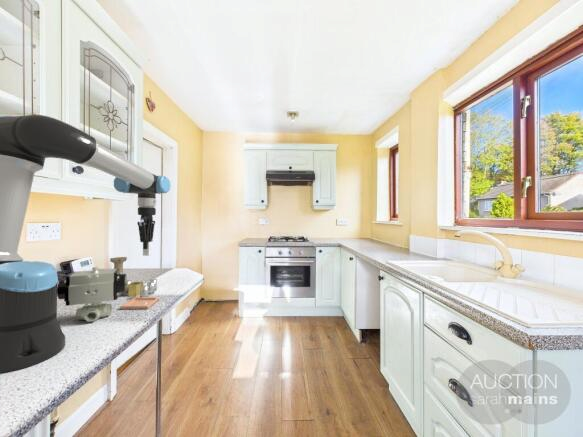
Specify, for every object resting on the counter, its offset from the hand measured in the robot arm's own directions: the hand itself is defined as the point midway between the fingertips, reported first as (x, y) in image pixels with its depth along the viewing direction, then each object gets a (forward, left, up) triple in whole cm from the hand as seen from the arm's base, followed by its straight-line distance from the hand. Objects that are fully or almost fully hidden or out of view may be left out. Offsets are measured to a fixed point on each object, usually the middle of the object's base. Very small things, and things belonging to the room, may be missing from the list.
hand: (146, 255), depth 120 cm
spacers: (-9, 0, -16) cm, 19 cm away
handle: (-2, +12, -16) cm, 20 cm away
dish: (-22, -8, -16) cm, 29 cm away
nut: (-9, 0, -16) cm, 19 cm away
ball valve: (-35, +1, -16) cm, 39 cm away
